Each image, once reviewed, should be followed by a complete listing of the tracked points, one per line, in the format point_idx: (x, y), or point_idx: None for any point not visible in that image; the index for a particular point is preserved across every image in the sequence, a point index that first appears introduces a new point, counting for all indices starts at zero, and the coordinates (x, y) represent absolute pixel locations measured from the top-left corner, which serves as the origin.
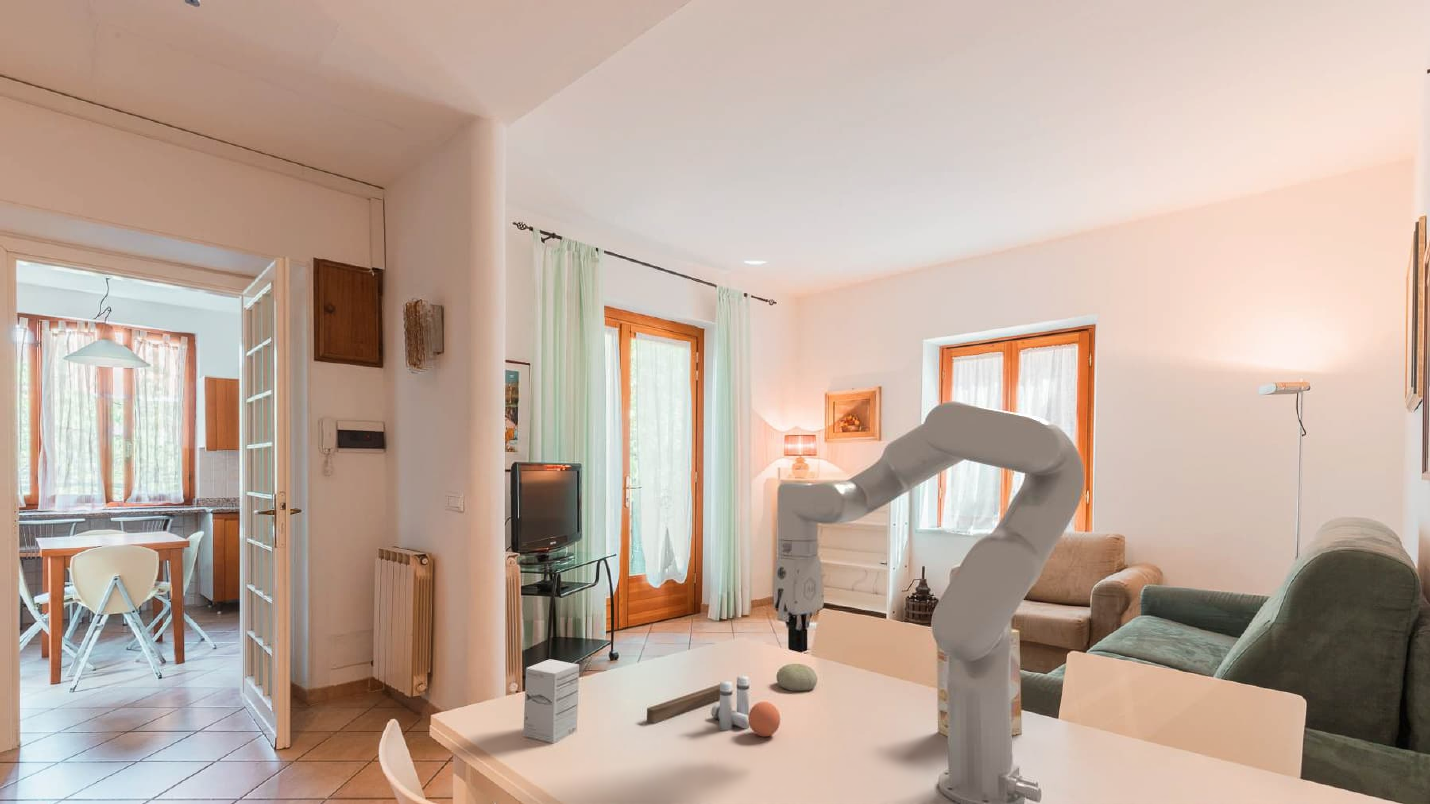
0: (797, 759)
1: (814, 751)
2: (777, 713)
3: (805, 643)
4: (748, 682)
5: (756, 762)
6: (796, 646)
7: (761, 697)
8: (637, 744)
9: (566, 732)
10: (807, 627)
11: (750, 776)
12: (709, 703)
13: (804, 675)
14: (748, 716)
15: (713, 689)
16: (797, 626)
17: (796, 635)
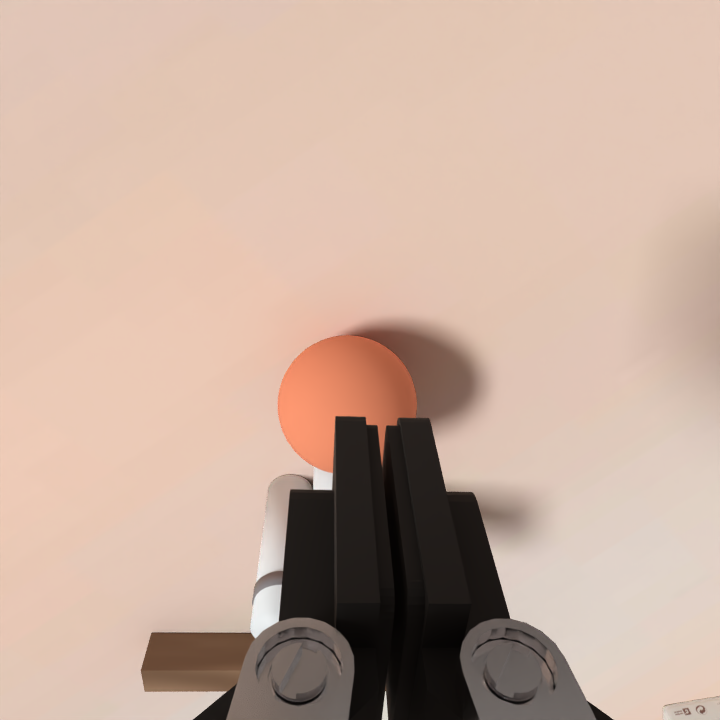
0: (463, 135)
1: (340, 124)
2: (330, 370)
3: (370, 465)
4: (270, 594)
5: (585, 245)
6: (462, 492)
7: (50, 573)
8: (660, 575)
9: (715, 708)
10: (297, 628)
11: (713, 187)
12: (251, 634)
13: None
14: (327, 473)
15: (216, 676)
16: (572, 683)
17: (500, 585)
